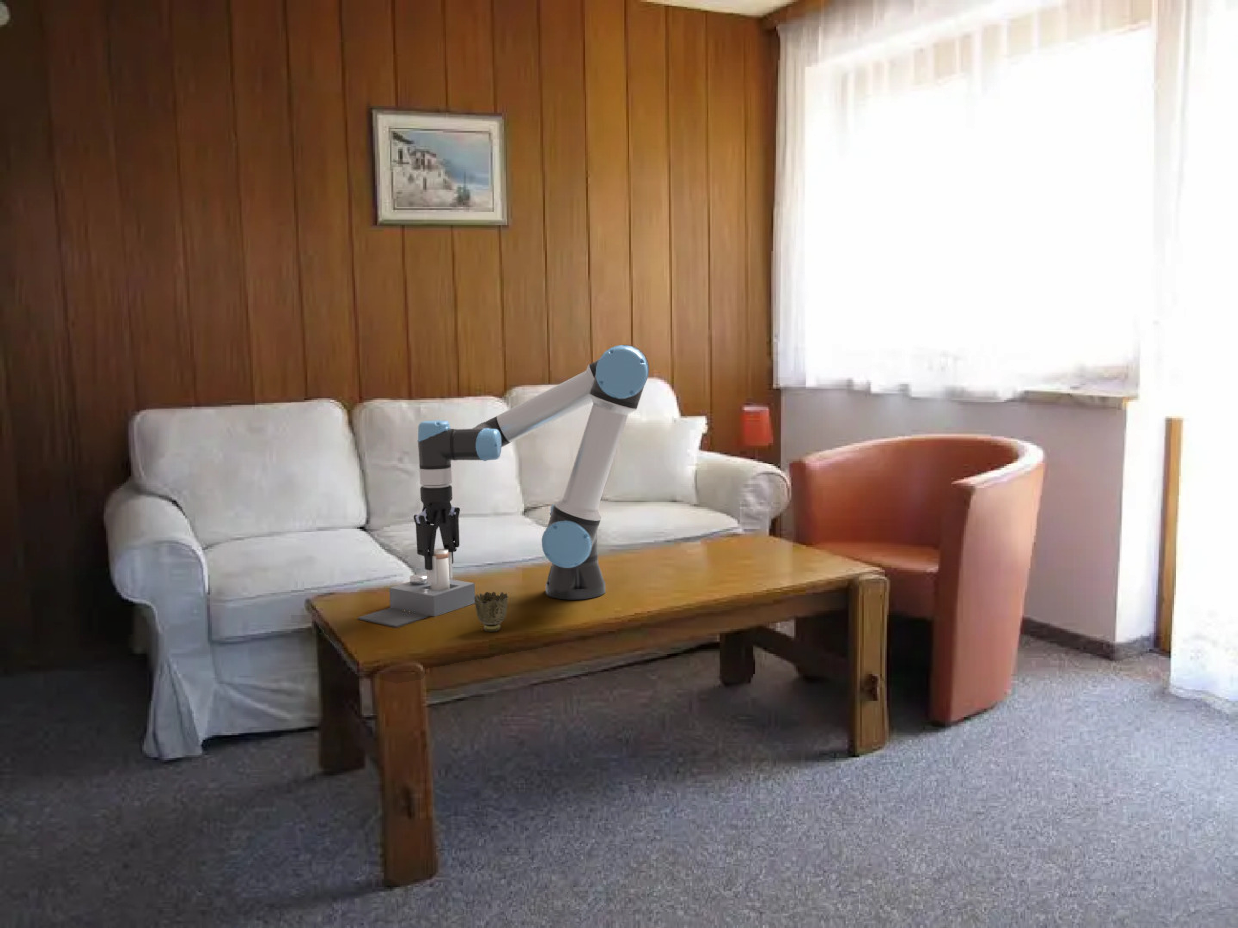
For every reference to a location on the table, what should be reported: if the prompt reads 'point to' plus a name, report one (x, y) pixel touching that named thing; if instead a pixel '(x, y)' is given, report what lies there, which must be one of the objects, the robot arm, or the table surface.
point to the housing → (432, 597)
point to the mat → (393, 617)
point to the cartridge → (441, 570)
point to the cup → (491, 610)
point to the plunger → (418, 579)
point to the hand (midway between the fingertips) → (440, 580)
